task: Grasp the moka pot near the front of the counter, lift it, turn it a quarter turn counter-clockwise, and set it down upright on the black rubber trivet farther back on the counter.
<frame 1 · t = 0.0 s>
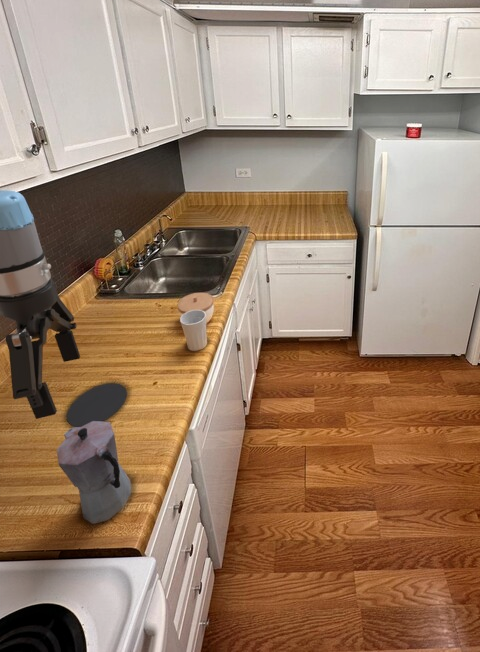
hand: (60, 384, 62), 29 cm above the counter, tool pointing down, fingers open, 13 cm apart
cup: (197, 346, 113), on the counter
lidded bowl: (198, 322, 125), on the counter
moka pot: (111, 500, 69), on the counter
trivet: (98, 406, 91), on the counter
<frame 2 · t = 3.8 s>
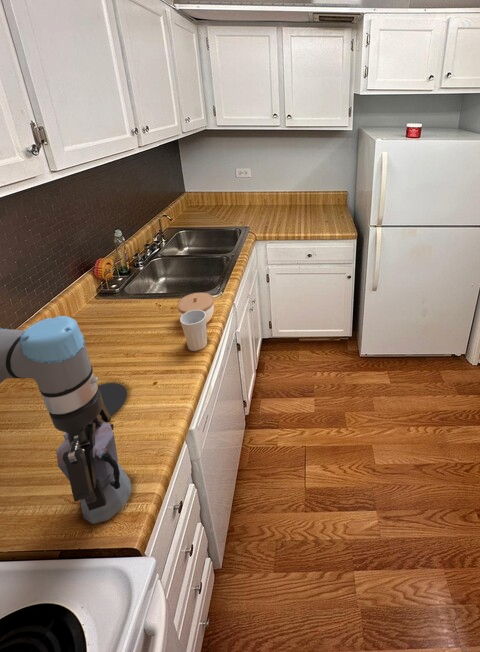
hand: (103, 479, 67), 7 cm above the counter, tool pointing down, fingers closed on moka pot, 9 cm apart
moka pot: (111, 500, 69), on the counter, touching gripper
everything else where it was.
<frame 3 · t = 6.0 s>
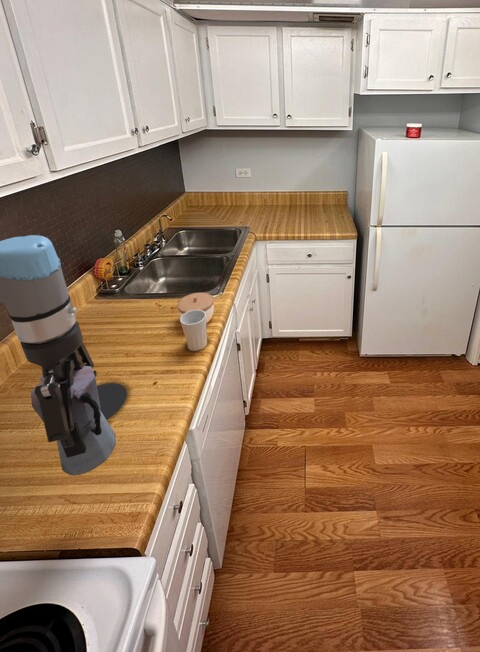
hand: (84, 428, 62), 21 cm above the counter, tool pointing down, fingers closed on moka pot, 9 cm apart
moka pot: (93, 453, 64), point 15 cm above the counter, touching gripper
everything else where it was.
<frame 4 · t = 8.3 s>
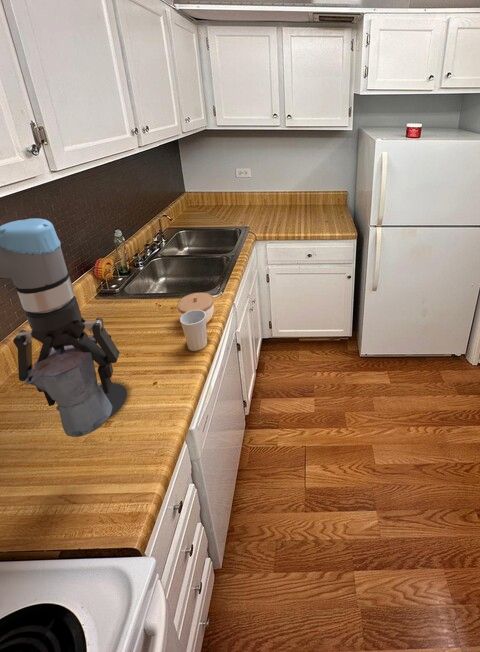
hand: (81, 394, 69), 21 cm above the counter, tool pointing down, fingers closed on moka pot, 9 cm apart
moka pot: (89, 417, 71), point 15 cm above the counter, touching gripper
everything else where it was.
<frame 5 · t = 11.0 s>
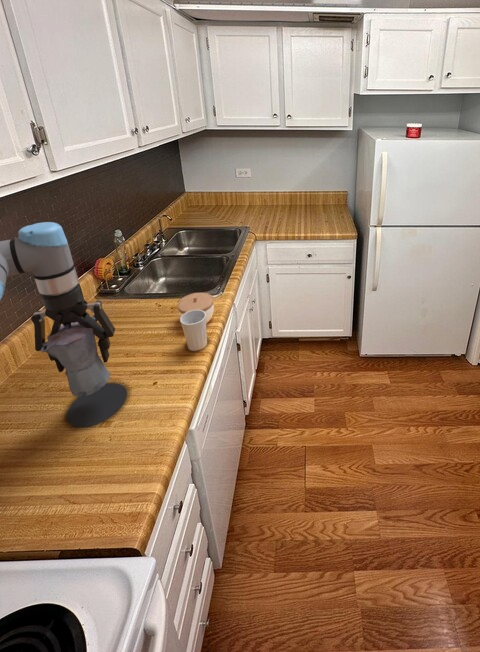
hand: (85, 363, 85), 15 cm above the counter, tool pointing down, fingers closed on moka pot, 9 cm apart
moka pot: (91, 382, 88), point 8 cm above the counter, touching gripper
everything else where it was.
when the fingers open (7 cm above the counter, at t = 13.3 s): moka pot stays where it is, resting on trivet.
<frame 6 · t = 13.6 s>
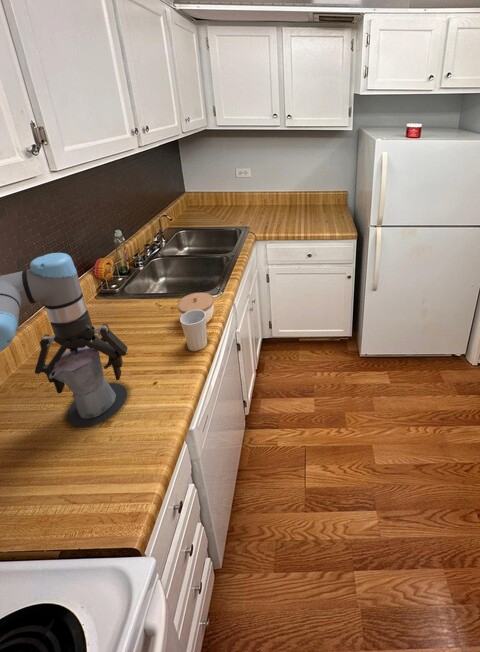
hand: (90, 382, 87), 8 cm above the counter, tool pointing down, fingers open, 12 cm apart
moka pot: (98, 403, 90), point 1 cm above the counter, touching trivet
everything else where it was.
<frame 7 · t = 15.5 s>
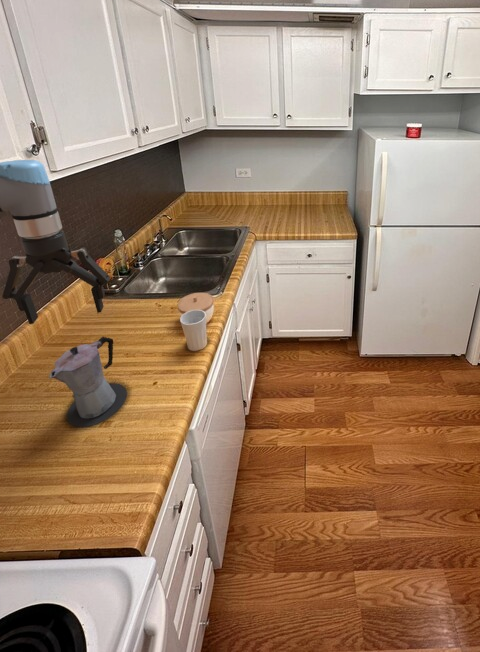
hand: (68, 315, 79), 30 cm above the counter, tool pointing down, fingers open, 13 cm apart
nothing on the counter moved.
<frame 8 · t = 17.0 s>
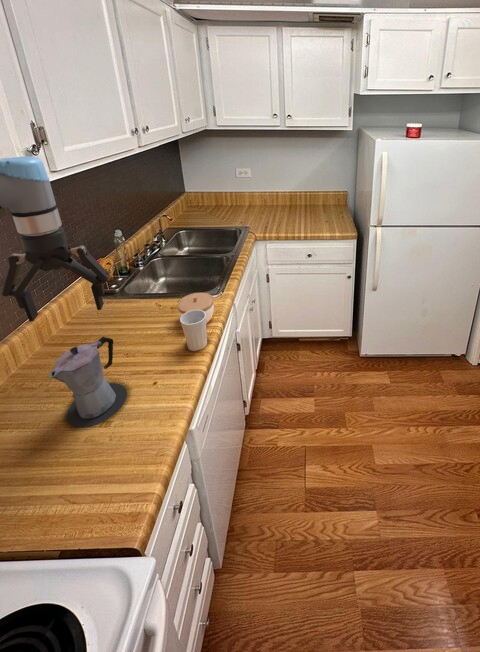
hand: (68, 312, 79), 31 cm above the counter, tool pointing down, fingers open, 13 cm apart
nothing on the counter moved.
at the end: moka pot inside the target area on the trivet (0.1 cm from its centre), point 0.8 cm above the trivet's base; moka pot tilted 0°; the gripper is holding nothing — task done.
